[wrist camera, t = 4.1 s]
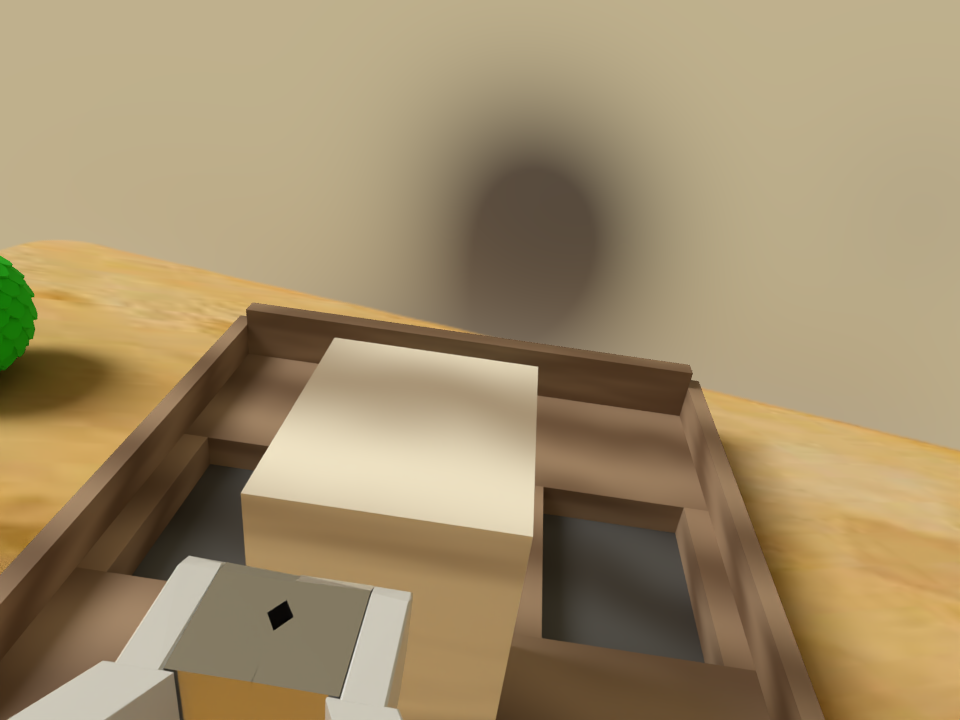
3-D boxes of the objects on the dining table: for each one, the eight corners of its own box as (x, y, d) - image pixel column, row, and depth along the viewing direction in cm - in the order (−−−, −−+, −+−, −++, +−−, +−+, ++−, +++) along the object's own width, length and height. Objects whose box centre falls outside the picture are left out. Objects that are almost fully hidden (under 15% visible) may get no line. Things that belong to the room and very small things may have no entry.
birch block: (469, 845, 20) (533, 536, 14) (264, 812, 20) (241, 493, 14) (488, 641, 26) (537, 366, 20) (331, 617, 26) (334, 337, 20)
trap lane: (854, 1028, 19) (934, 945, 16) (-143, 865, 19) (-210, 762, 17) (681, 435, 43) (703, 366, 41) (244, 371, 44) (239, 300, 41)
